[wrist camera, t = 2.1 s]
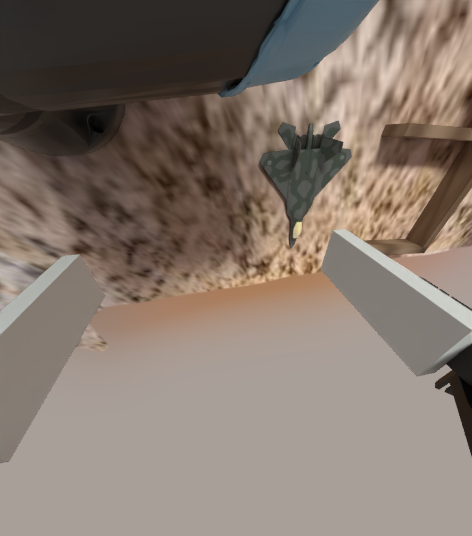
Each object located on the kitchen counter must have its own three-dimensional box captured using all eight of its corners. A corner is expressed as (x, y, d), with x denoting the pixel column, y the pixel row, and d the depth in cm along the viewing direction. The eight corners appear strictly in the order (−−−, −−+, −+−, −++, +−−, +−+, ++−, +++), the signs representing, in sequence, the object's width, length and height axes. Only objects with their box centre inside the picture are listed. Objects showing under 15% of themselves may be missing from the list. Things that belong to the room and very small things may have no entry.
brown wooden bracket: (336, 247, 35) (348, 256, 32) (385, 124, 24) (410, 123, 22) (407, 244, 37) (424, 252, 35) (479, 131, 27) (512, 131, 24)
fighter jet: (254, 250, 33) (260, 263, 30) (258, 123, 23) (268, 120, 19) (322, 242, 35) (335, 253, 31) (355, 120, 24) (381, 117, 21)
